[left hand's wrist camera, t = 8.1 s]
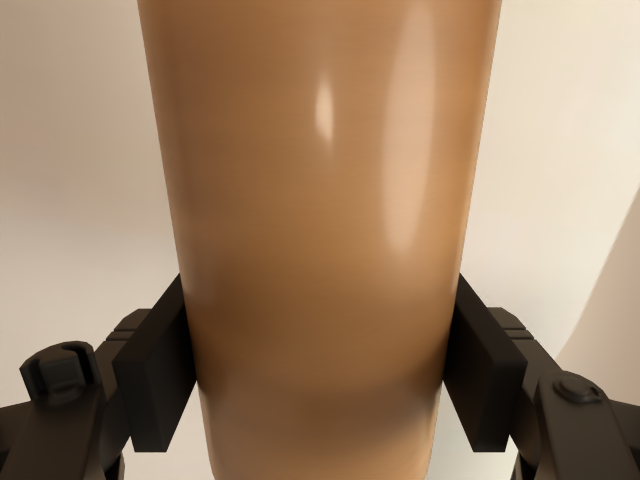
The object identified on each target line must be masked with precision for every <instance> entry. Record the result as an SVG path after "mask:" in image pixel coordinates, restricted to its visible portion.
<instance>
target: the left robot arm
mask: <svg viewBox="0 0 640 480" xmlns="http://www.w3.org/2000/svg"><path fill="white" fill-rule="evenodd" d="M19 370H20V372H21V375H22V378H23V380H24V383H25V386H26V388H27V391H28V393H29V396H30V399H31V401H28V402H24V403H20V404H16V405H11V406H7V407H2V408H0V480H124V470H125V463H124V458H123V454H122V450H123V448H124V446H125V444H126V442H127V441H128V439H129V437H130V436H131V440H132V443H133V447H134V451H135V452H166V451H167V449H168V447H169V444H170V442H171V439H172V437H173V435H174V432H175V430H176V428H177V425H178V423H179V421H180V418H181V416H182V414H183V411H184V409H185V406H186V404H187V402H188V399H189V397H190V395H191V392H192V390H193V388H194V385H195V383H196V381H197V378H196V371H195V365H194V359H193V352H192V346H191V340H190V333H189V327H188V320H187V314H186V308H185V301H184V295H183V289H182V282H181V276H180V273H179V274H178V275H177V277H176V278H175V279H174V281H173V282H172V283H171V285H170V286H169V287H168V288H167V290H166V291H165V292H164V294H163V295H162V296H161V298H160V299H159V300H158V301H157V303H156V304H155V305H154V307H153V308H152V309H137V310H136V311H134V312H132V313H131V314H129V315H128V316H126V317H125V318H123V319H122V321H121V322H120V323H119V324H118V325H117V326H116V328H115V329H114V332H111V333H110V334H109V336H108V337H107V338H106V341H103V343H102V344H101V345H100V346H99V347H98V348H97V350H96V351H95V352H94V350H93V347H92V346H91V345H90V344H88V343H87V342H82V341H70V342H63V343H59V344H56V345H52V346H50V347H47V348H45V349H43V350H41V351H39V352H37V353H35V354H34V355H33V356H31V357H30V358H28V359H27V360H26V361H25V362H24V363H23V365H22V366H21V367H20V368H19ZM443 381H444V384H445V386H446V389H447V391H448V393H449V396H450V398H451V400H452V403H453V405H454V407H455V410H456V412H457V414H458V417H459V419H460V422H461V424H462V426H463V429H464V431H465V433H466V436H467V438H468V440H469V443H470V445H471V447H472V450H473V452H505V449H506V446H507V442H508V438H509V434H510V436H511V438H512V439H513V441H514V443H515V445H516V447H517V448H518V450H519V451H518V454H517V458H516V461H515V465H514V469H513V472H512V476H511V479H510V480H640V406H636V405H632V404H627V403H623V402H618V401H614V400H610V399H609V398H608V397H607V396H606V394H605V393H604V391H603V390H602V389H601V388H599V387H598V386H597V385H596V384H594V383H593V382H592V381H590V380H588V379H586V378H584V377H582V376H580V375H578V374H574V373H571V372H568V371H563V370H562V369H561V368H560V367H559V366H558V365H557V363H556V362H555V361H554V360H553V359H552V358H551V356H550V355H549V354H548V353H547V352H546V351H545V349H544V348H543V347H542V346H541V345H540V344H539V343H538V341H537V340H534V337H533V336H532V334H531V333H530V332H529V331H528V330H526V328H525V326H524V325H523V324H522V323H521V322H520V321H519V319H518V318H517V317H516V316H514V315H512V314H511V313H509V312H508V311H506V310H505V309H503V308H494V307H486V306H485V305H484V303H483V302H482V301H481V299H480V298H479V297H478V295H477V294H476V293H475V292H474V290H473V289H472V288H471V286H470V285H469V284H468V282H467V281H466V280H465V279H464V277H463V276H462V275H461V273H460V272H459V279H458V285H457V291H456V298H455V304H454V310H453V317H452V323H451V330H450V336H449V342H448V349H447V355H446V362H445V368H444V374H443Z"/></svg>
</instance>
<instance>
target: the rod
mask: <svg viewBox="0 0 640 480" xmlns="http://www.w3.org/2000/svg"><path fill="white" fill-rule="evenodd" d="M137 2H138V9H139V15H140V21H141V28H142V34H143V41H144V47H145V53H146V60H147V66H148V72H149V79H150V85H151V91H152V98H153V104H154V111H155V117H156V123H157V130H158V136H159V142H160V149H161V155H162V161H163V168H164V174H165V180H166V187H167V193H168V200H169V206H170V212H171V219H172V225H173V231H174V238H175V244H176V250H177V257H178V263H179V270H180V276H181V282H182V289H183V295H184V301H185V308H186V314H187V320H188V327H189V333H190V340H191V346H192V352H193V359H194V365H195V371H196V378H197V384H198V390H199V397H200V403H201V409H202V416H203V422H204V429H205V435H206V441H207V448H208V454H209V460H210V465H211V469H212V473H213V476H214V478H215V480H424V479H425V477H426V474H427V471H428V467H429V463H430V457H431V451H432V445H433V438H434V432H435V425H436V419H437V413H438V406H439V400H440V394H441V387H442V381H443V374H444V368H445V362H446V355H447V349H448V342H449V336H450V330H451V323H452V317H453V310H454V304H455V298H456V291H457V285H458V279H459V272H460V266H461V259H462V253H463V247H464V240H465V234H466V227H467V221H468V215H469V208H470V202H471V196H472V189H473V183H474V176H475V170H476V164H477V157H478V151H479V144H480V138H481V132H482V125H483V119H484V113H485V106H486V100H487V93H488V87H489V81H490V74H491V68H492V61H493V55H494V49H495V42H496V36H497V29H498V23H499V17H500V10H501V4H502V0H137Z"/></svg>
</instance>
